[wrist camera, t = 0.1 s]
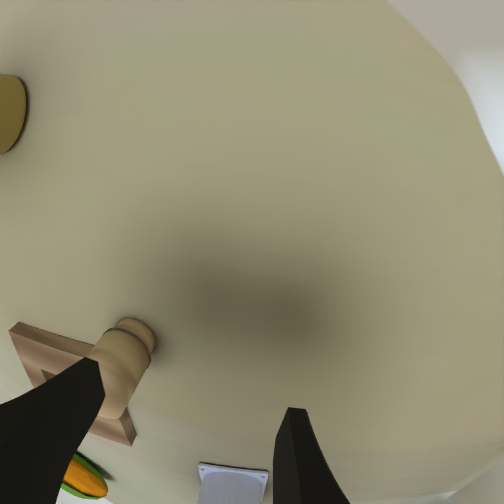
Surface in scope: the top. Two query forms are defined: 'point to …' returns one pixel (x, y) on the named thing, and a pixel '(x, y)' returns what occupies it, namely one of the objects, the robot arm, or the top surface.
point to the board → (57, 360)
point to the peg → (122, 363)
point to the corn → (84, 480)
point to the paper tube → (11, 110)
